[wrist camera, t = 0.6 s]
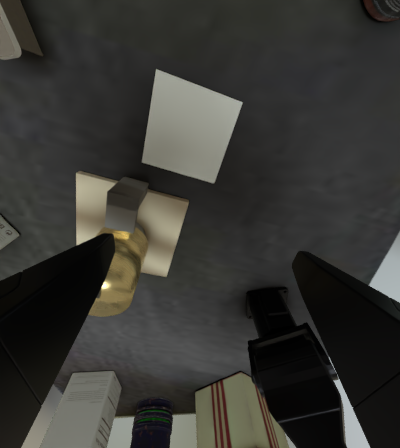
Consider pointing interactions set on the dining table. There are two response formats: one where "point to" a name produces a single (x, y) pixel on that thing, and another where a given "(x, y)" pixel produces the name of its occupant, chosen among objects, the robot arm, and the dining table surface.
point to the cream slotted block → (130, 215)
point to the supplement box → (85, 412)
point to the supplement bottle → (383, 9)
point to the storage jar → (152, 423)
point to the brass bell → (121, 272)
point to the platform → (15, 31)
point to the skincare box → (6, 233)
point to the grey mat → (188, 127)
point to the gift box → (235, 416)
